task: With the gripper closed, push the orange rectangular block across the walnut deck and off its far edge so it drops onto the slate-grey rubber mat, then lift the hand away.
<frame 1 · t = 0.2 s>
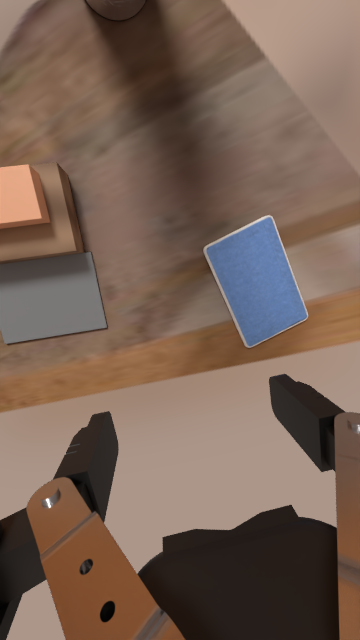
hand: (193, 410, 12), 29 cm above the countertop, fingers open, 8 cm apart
orange rectangular block: (2, 199, 30), point 5 cm above the countertop, touching deck
deck: (28, 221, 35), on the countertop
tablet computer: (255, 284, 41), on the countertop
mat: (48, 298, 37), on the countertop
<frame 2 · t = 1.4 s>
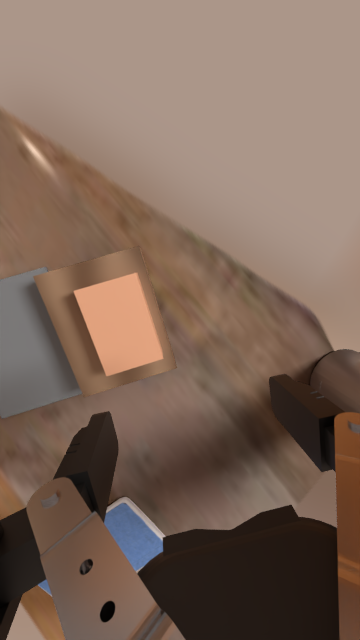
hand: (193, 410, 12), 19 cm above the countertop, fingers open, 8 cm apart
orange rectangular block: (122, 323, 25), point 5 cm above the countertop, touching deck
deck: (115, 318, 30), on the countertop
tablet computer: (99, 548, 37), on the countertop
mat: (24, 345, 29), on the countertop
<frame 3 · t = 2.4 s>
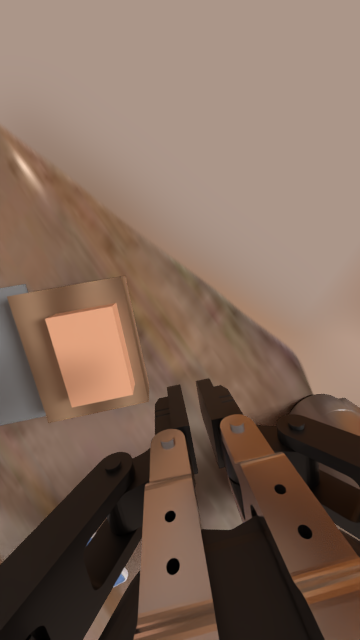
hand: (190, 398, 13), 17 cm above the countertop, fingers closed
orange rectangular block: (94, 354, 24), point 5 cm above the countertop, touching deck
deck: (92, 342, 29), on the countertop
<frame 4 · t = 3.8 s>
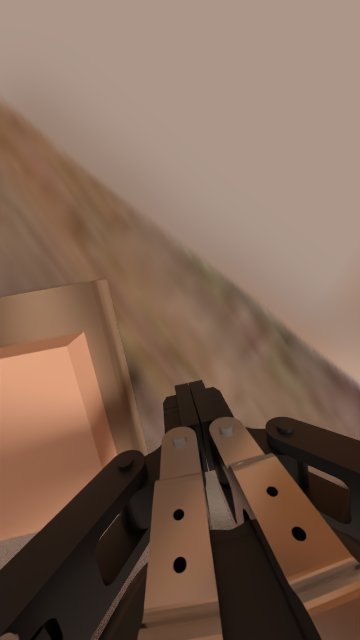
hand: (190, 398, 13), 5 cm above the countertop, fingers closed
orange rectangular block: (40, 433, 12), point 5 cm above the countertop, touching deck
deck: (53, 389, 17), on the countertop
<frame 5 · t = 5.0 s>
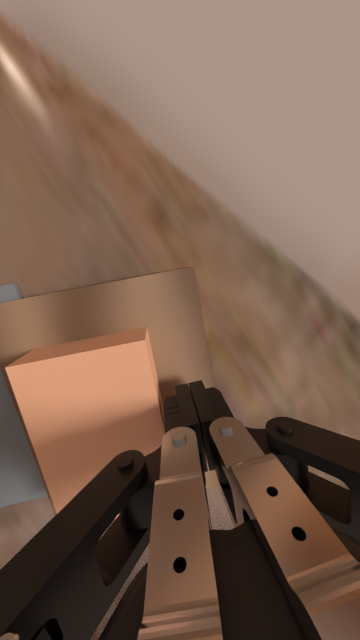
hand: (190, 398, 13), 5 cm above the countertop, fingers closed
orange rectangular block: (106, 425, 12), point 5 cm above the countertop, touching deck
deck: (128, 377, 18), on the countertop
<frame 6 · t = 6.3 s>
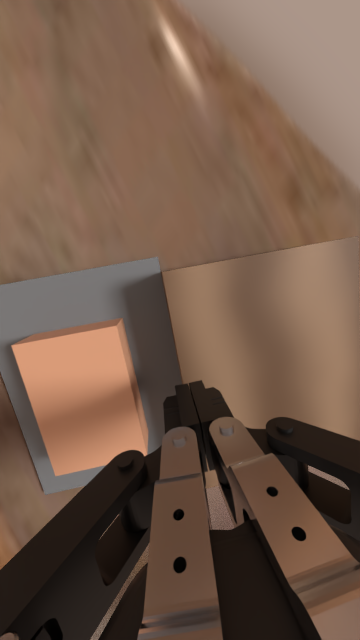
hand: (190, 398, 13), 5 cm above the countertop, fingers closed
orange rectangular block: (89, 394, 16), point 2 cm above the countertop, tilted 180°, touching mat
deck: (249, 351, 18), on the countertop
mat: (98, 382, 18), on the countertop
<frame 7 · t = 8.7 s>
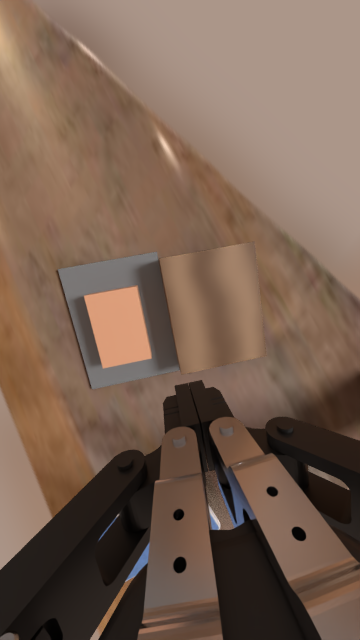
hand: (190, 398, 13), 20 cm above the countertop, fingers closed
orange rectangular block: (120, 326, 30), point 2 cm above the countertop, tilted 180°, touching mat
deck: (208, 305, 32), on the countertop
tablet computer: (152, 523, 39), on the countertop
mat: (123, 322, 31), on the countertop
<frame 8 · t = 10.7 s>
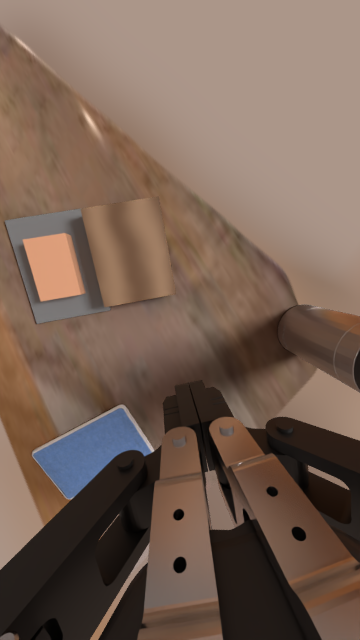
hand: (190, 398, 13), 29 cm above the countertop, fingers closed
orange rectangular block: (56, 268, 36), point 2 cm above the countertop, tilted 180°, touching mat
deck: (133, 255, 39), on the countertop
tablet computer: (95, 449, 46), on the countertop
mat: (61, 267, 38), on the countertop
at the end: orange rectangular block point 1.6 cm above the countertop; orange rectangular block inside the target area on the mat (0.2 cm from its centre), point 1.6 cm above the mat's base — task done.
